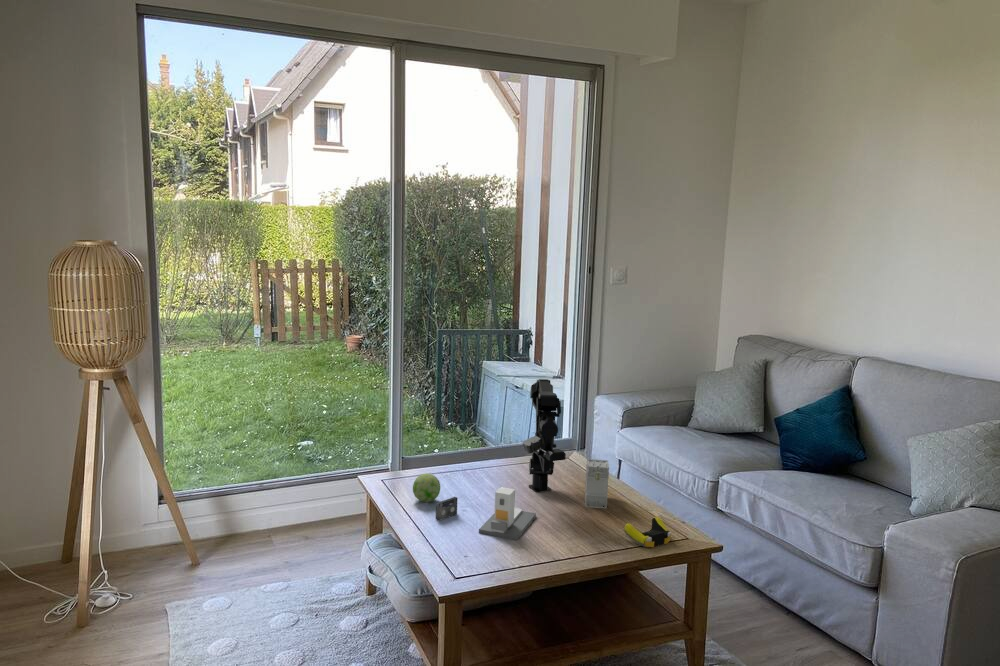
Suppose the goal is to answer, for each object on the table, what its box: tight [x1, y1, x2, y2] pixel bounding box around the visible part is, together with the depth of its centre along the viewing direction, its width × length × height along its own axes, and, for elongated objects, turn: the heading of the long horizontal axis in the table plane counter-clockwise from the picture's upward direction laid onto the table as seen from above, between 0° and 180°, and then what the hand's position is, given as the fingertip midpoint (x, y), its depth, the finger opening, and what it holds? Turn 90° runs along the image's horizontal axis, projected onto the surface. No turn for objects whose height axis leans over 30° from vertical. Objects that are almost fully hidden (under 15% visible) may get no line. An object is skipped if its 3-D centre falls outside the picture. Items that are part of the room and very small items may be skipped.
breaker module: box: [494, 486, 516, 529], centre depth 233 cm, size 6×5×12 cm
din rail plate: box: [478, 507, 537, 541], centre depth 238 cm, size 20×13×4 cm, turn 160°
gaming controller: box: [623, 516, 672, 548], centre depth 230 cm, size 15×6×10 cm
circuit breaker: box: [584, 458, 610, 509], centre depth 261 cm, size 8×14×15 cm, turn 174°
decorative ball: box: [412, 473, 441, 503], centre depth 255 cm, size 10×10×10 cm
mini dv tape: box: [435, 496, 458, 521], centre depth 243 cm, size 8×2×6 cm, turn 135°
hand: (544, 472), depth 255 cm, fingers closed
